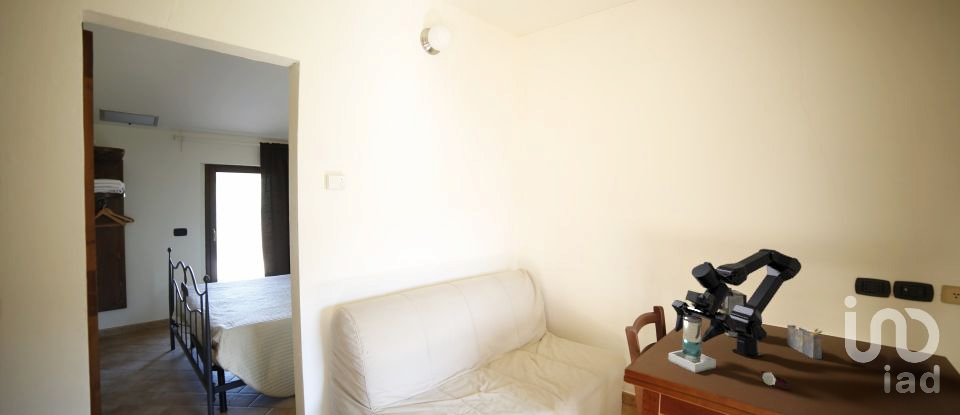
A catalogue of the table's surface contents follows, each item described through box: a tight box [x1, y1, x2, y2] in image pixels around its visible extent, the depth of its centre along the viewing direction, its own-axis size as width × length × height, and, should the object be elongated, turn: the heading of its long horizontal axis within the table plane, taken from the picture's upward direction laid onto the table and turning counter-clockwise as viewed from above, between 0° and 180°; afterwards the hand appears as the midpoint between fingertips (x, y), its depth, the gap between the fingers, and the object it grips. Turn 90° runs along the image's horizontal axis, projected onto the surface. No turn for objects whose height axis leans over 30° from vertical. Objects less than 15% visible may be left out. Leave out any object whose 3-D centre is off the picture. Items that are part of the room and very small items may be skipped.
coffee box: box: [718, 289, 748, 338], centre depth 144 cm, size 9×6×16 cm
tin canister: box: [681, 315, 703, 363], centre depth 117 cm, size 5×5×14 cm
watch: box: [760, 370, 790, 390], centre depth 104 cm, size 8×5×4 cm, turn 6°
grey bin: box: [668, 349, 717, 374], centre depth 117 cm, size 9×9×2 cm
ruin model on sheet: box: [786, 324, 823, 360], centre depth 127 cm, size 11×3×10 cm, turn 176°
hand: (688, 336), depth 116 cm, fingers open, 9 cm apart
